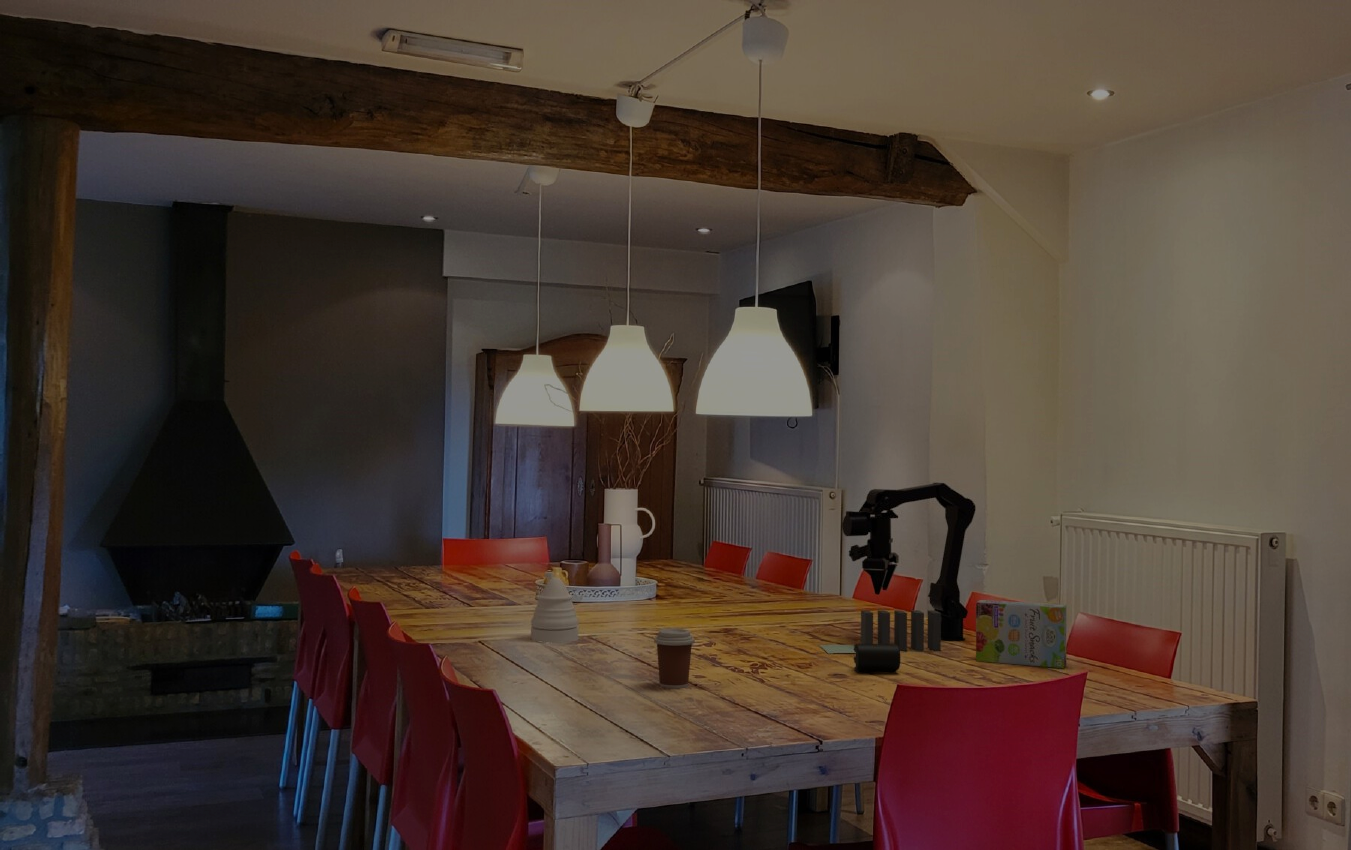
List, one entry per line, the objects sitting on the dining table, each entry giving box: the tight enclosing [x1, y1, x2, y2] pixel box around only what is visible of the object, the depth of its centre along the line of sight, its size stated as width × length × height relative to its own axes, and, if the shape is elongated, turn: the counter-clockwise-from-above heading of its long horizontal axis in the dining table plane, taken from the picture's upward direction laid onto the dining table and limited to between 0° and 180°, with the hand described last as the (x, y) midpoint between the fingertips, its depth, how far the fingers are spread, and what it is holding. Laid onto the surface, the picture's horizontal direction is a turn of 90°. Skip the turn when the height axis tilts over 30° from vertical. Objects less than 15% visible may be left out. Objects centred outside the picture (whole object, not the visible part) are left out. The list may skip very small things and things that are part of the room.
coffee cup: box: [653, 627, 696, 689], centre depth 250 cm, size 9×9×12 cm
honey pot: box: [530, 571, 579, 644], centre depth 308 cm, size 13×13×18 cm
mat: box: [818, 644, 856, 655], centre depth 296 cm, size 9×12×1 cm
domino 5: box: [860, 609, 874, 644], centre depth 297 cm, size 2×5×10 cm, turn 5°
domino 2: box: [893, 609, 908, 652], centre depth 297 cm, size 2×5×10 cm, turn 4°
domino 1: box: [877, 609, 891, 644], centre depth 297 cm, size 2×5×10 cm, turn 5°
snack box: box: [975, 599, 1067, 669], centre depth 280 cm, size 21×6×15 cm, turn 65°
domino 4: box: [926, 609, 942, 652], centre depth 298 cm, size 2×5×10 cm, turn 5°
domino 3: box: [910, 609, 925, 652], centre depth 298 cm, size 2×5×10 cm, turn 4°
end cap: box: [853, 642, 901, 673], centre depth 267 cm, size 10×7×7 cm
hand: (881, 592), depth 309 cm, fingers open, 9 cm apart
